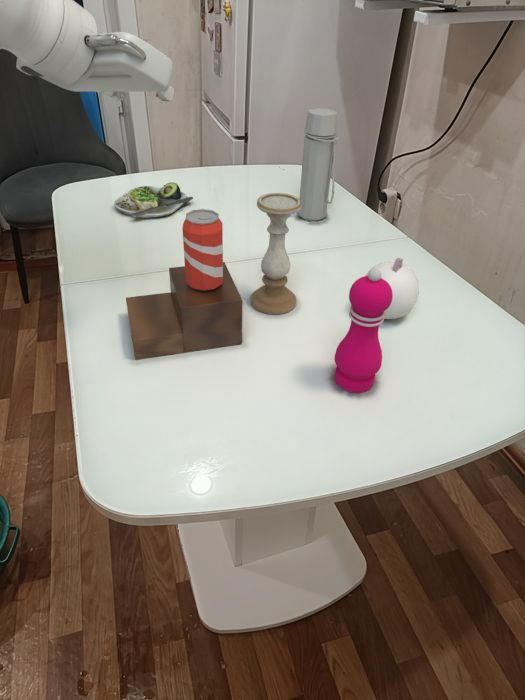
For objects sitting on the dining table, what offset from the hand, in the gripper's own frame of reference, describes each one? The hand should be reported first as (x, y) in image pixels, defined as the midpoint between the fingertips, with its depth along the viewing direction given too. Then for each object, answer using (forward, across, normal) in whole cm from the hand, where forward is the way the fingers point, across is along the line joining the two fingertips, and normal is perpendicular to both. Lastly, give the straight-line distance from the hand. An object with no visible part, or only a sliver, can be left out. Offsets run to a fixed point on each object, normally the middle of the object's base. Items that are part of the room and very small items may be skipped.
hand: (146, 95), depth 72 cm
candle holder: (+34, -8, +24) cm, 42 cm away
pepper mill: (+26, -31, +32) cm, 52 cm away
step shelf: (+18, -1, +32) cm, 37 cm away
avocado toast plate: (+45, +41, +8) cm, 62 cm away
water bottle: (+65, +6, 0) cm, 65 cm away
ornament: (+43, -27, +21) cm, 55 cm away
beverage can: (+16, -5, +24) cm, 29 cm away
